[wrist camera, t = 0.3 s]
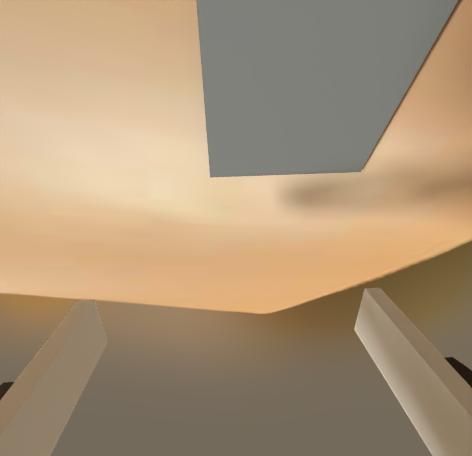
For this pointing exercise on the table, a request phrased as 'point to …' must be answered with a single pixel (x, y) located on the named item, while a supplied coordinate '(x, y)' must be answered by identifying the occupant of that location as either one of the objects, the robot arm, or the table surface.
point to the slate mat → (307, 79)
